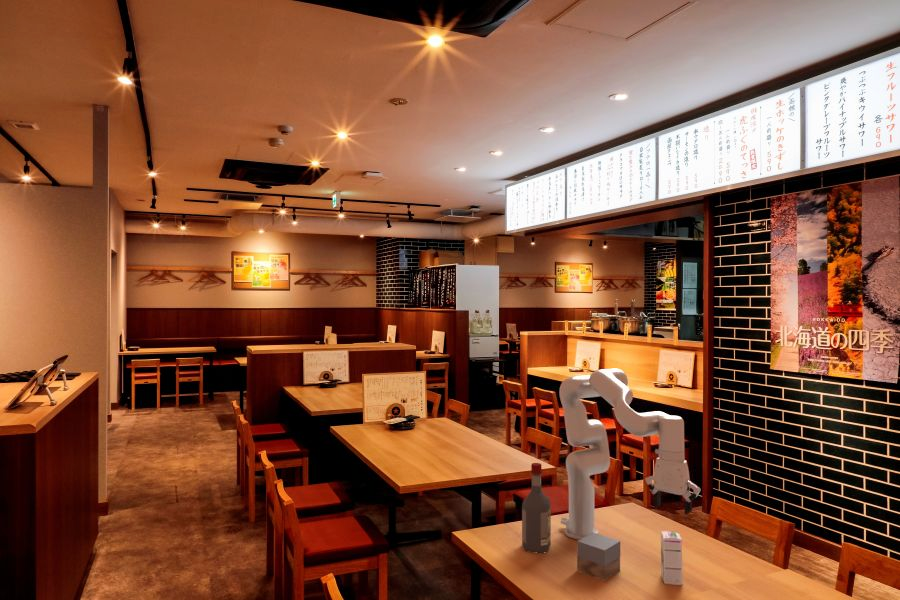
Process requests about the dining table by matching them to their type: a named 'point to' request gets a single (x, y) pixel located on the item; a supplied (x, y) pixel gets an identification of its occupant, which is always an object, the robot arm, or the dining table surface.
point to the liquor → (536, 516)
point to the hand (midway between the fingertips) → (672, 509)
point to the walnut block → (598, 568)
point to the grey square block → (598, 549)
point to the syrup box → (671, 558)
